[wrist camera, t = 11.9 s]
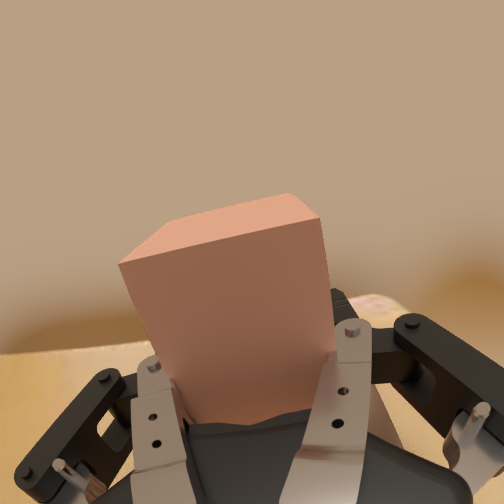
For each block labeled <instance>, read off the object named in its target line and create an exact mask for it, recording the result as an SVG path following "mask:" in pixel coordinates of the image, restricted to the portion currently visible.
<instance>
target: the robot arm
mask: <svg viewBox="0 0 504 504" xmlns="http://www.w3.org/2000/svg"><path fill="white" fill-rule="evenodd" d="M330 291H331V299H332V308H333V317H334V326H335V337H336V348H337V350H335V351H331V352H329V357H328V362H327V363H323V365H322V369H321V373H320V378H319V382H318V386H317V390H316V394H315V398H314V402H313V406H312V408H310V409H305V410H300V411H295V412H290V413H285V414H281V415H278V416H276V417H273V418H270V419H267V420H265V421H262V422H259V423H256V424H253V425H239V424H228V423H219V422H218V423H205V424H198V422H197V420H196V419H195V418H191V417H190V416H189V414H188V412H187V411H186V409H185V407H184V405H183V403H182V401H181V397H180V393H179V389H178V387H177V385H176V383H175V381H174V379H173V378H168V376H167V375H166V373H165V371H164V369H163V367H162V365H161V363H160V361H159V359H158V357H157V355H156V353H155V355H152V356H150V357H148V358H146V359H144V360H143V361H142V362H141V363H140V364H139V366H138V368H137V373H134V374H130V375H127V376H124V377H122V376H121V374H120V372H119V371H118V370H117V369H114V368H109V369H105V370H102V371H100V372H99V373H97V374H96V375H95V376H94V377H93V378H92V379H91V380H90V382H89V383H88V384H87V385H86V386H85V387H84V388H83V390H82V391H81V392H80V393H79V394H78V395H77V396H76V397H75V399H74V400H73V401H72V402H71V403H70V404H69V406H68V407H67V408H66V409H65V410H64V411H63V412H62V414H61V415H60V416H59V417H58V418H57V419H56V421H55V422H54V423H53V424H52V425H51V427H50V428H49V429H48V430H47V431H46V432H45V434H44V435H43V436H42V437H41V438H40V440H39V441H38V442H37V443H36V444H35V446H34V447H33V448H32V449H31V451H30V452H29V453H28V454H27V455H26V457H25V458H24V459H23V460H22V462H21V463H20V464H19V465H18V467H17V468H16V470H15V473H14V480H15V483H16V485H17V486H18V487H19V488H20V489H21V490H23V491H24V492H25V493H27V494H28V495H29V496H30V497H32V498H33V500H34V501H36V502H37V503H38V504H473V495H474V494H475V493H477V492H478V491H479V490H480V489H481V488H482V487H483V486H484V485H485V484H486V483H487V482H488V481H489V480H490V479H491V478H493V477H496V476H498V475H500V474H501V473H502V472H503V471H504V368H503V367H501V366H500V365H498V364H497V363H495V362H494V361H493V360H491V359H490V358H488V357H487V356H485V355H484V354H482V353H481V352H479V351H478V350H476V349H475V348H473V347H472V346H470V345H469V344H467V343H466V342H464V341H463V340H461V339H460V338H458V337H457V336H455V335H454V334H452V333H450V332H449V331H447V330H446V329H444V328H443V327H441V326H439V325H438V324H437V323H435V322H433V321H432V320H430V319H429V318H427V317H425V316H423V315H421V314H416V313H410V314H405V315H402V316H400V317H399V318H397V319H396V320H395V322H394V328H383V329H377V328H372V327H371V324H370V323H369V322H368V321H366V320H364V319H360V318H359V317H358V315H357V314H356V312H355V311H354V309H353V308H352V306H351V304H350V303H349V301H348V300H347V299H346V297H345V295H344V293H343V292H341V291H339V290H338V289H336V288H334V289H330ZM382 383H391V385H392V386H393V387H394V388H395V389H396V390H397V391H398V392H399V393H400V394H401V395H402V396H403V397H404V398H405V399H406V400H407V401H408V402H409V403H410V404H411V405H412V406H413V407H414V408H415V409H416V410H417V411H418V412H419V413H420V414H421V415H422V416H423V418H424V419H425V420H426V421H427V422H428V423H429V424H430V425H431V426H432V427H433V428H434V429H435V430H436V431H437V432H438V433H439V434H440V435H441V436H442V437H443V438H444V439H445V441H444V443H443V454H444V456H445V458H446V459H447V461H448V463H449V469H447V468H445V467H443V466H440V465H438V464H435V463H433V462H431V461H428V460H426V459H424V458H421V457H419V456H417V455H415V454H413V453H410V452H408V451H406V450H404V449H402V448H400V447H398V446H396V445H394V444H392V443H390V442H388V441H386V440H384V439H382V438H380V437H378V436H376V435H374V434H372V433H370V432H368V431H367V429H368V418H369V406H370V390H371V384H382ZM108 410H109V412H110V413H111V414H112V416H113V417H114V418H115V419H114V420H113V421H112V423H111V424H110V426H109V427H108V428H107V430H106V431H105V433H104V434H103V435H102V437H100V436H99V434H98V432H97V425H98V423H99V421H100V420H101V419H102V417H103V416H104V415H105V413H106V412H107V411H108ZM132 449H133V456H134V467H135V469H134V470H133V471H131V472H130V473H129V474H128V475H126V476H125V477H124V478H123V479H121V480H120V481H119V482H117V483H116V484H115V485H114V486H112V487H111V488H110V489H108V488H109V486H110V485H111V483H112V482H113V480H114V478H115V477H116V475H117V473H118V472H119V470H120V469H121V467H122V465H123V464H124V462H125V461H126V459H127V457H128V456H129V454H130V453H131V451H132Z"/></svg>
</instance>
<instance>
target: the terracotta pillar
mask: <svg viewBox="0 0 504 504" xmlns="http://www.w3.org/2000/svg"><path fill="white" fill-rule="evenodd" d="M118 265H119V268H120V271H121V273H122V276H123V279H124V281H125V284H126V286H127V289H128V291H129V294H130V296H131V299H132V301H133V304H134V306H135V308H136V311H137V313H138V316H139V318H140V320H141V323H142V325H143V327H144V329H145V331H146V333H147V336H148V338H149V340H150V342H151V344H152V346H153V349H154V351H155V353H156V355H157V357H158V359H159V361H160V363H161V365H162V367H163V369H164V371H165V373H166V375H167V376H168V378H173V379H174V381H175V383H176V385H177V387H178V389H179V393H180V397H181V401H182V403H183V405H184V407H185V409H186V411H187V412H188V414H189V416H190V417H191V418H195V419H196V420H197V422H198V424H205V423H218V422H219V423H228V424H239V425H253V424H256V423H259V422H262V421H265V420H267V419H270V418H273V417H276V416H278V415H281V414H285V413H290V412H295V411H300V410H305V409H310V408H312V406H313V402H314V398H315V394H316V390H317V386H318V382H319V378H320V373H321V369H322V365H323V363H327V362H328V357H329V352H331V351H335V350H337V348H336V337H335V326H334V317H333V308H332V299H331V291H330V283H329V275H328V268H327V261H326V254H325V247H324V241H323V234H322V228H321V222H320V217H319V216H317V215H316V214H315V213H314V212H313V211H312V210H310V209H309V208H308V207H307V206H306V205H304V204H303V203H302V202H301V201H300V200H298V199H297V198H296V197H295V196H294V195H293V194H291V193H286V194H282V195H277V196H272V197H268V198H263V199H259V200H254V201H249V202H245V203H241V204H237V205H232V206H228V207H224V208H220V209H215V210H212V211H207V212H203V213H200V214H195V215H191V216H187V217H184V218H180V219H176V220H172V221H169V222H168V223H166V224H165V225H164V226H163V227H161V228H160V229H159V230H158V231H156V232H155V233H154V234H153V235H151V236H150V237H149V238H148V239H147V240H145V241H144V242H143V243H142V244H141V245H139V246H138V247H137V248H136V249H135V250H133V251H132V252H131V253H130V254H129V255H128V256H126V257H125V258H124V259H123V260H122V261H121V262H119V263H118Z"/></svg>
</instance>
